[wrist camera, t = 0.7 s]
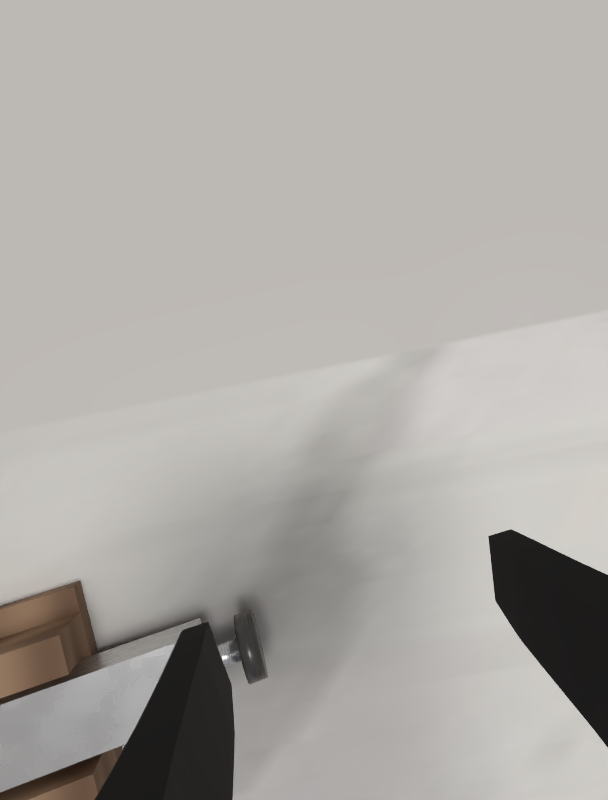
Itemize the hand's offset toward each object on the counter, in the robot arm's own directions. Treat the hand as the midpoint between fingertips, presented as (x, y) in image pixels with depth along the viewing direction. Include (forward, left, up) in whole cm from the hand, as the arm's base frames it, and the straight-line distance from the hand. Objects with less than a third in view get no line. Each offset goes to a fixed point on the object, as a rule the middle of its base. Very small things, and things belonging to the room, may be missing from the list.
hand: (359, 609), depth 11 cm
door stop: (-7, +11, -17) cm, 22 cm away
